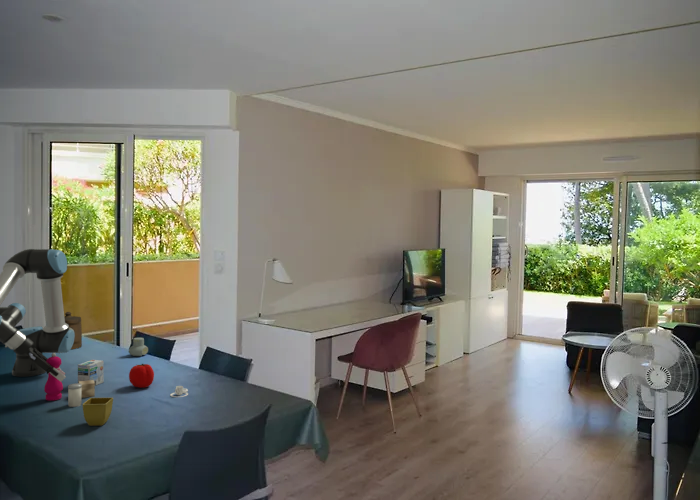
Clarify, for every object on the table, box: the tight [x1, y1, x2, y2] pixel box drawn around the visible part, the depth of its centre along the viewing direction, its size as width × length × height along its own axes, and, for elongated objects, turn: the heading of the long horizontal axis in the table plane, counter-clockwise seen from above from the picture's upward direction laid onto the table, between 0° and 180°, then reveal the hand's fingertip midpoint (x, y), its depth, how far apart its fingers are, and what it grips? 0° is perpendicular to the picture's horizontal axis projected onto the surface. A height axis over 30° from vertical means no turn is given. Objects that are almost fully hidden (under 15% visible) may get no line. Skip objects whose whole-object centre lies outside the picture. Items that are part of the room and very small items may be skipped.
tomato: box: [128, 363, 155, 389], centre depth 265 cm, size 12×12×11 cm
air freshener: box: [128, 337, 149, 357], centre depth 327 cm, size 11×8×10 cm
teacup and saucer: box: [170, 385, 189, 398], centre depth 254 cm, size 9×8×4 cm
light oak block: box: [79, 380, 96, 399], centre depth 250 cm, size 6×6×6 cm
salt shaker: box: [67, 382, 82, 408], centre depth 236 cm, size 5×5×8 cm
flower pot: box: [81, 397, 114, 427], centre depth 215 cm, size 9×9×9 cm
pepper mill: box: [43, 353, 64, 402], centre depth 243 cm, size 7×7×20 cm
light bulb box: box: [77, 359, 105, 387], centre depth 266 cm, size 11×7×11 cm, turn 168°
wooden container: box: [64, 311, 83, 350], centre depth 344 cm, size 15×15×22 cm
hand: (63, 377), depth 245 cm, fingers closed on pepper mill, 5 cm apart
